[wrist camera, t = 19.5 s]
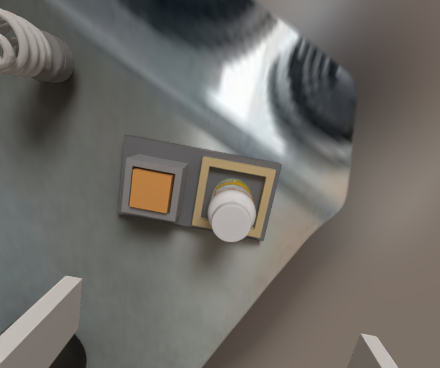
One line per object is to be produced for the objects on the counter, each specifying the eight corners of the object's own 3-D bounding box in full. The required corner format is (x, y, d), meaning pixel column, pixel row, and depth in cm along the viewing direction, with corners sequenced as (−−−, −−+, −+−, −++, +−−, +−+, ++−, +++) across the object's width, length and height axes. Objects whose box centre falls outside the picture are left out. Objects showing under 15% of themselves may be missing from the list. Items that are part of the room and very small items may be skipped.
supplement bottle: (237, 222, 36) (239, 258, 26) (204, 202, 35) (194, 231, 26) (259, 191, 35) (269, 216, 25) (225, 170, 34) (222, 188, 25)
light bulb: (96, 60, 33) (23, 26, 22) (75, 97, 35) (-5, 83, 23) (59, 32, 33) (-38, -19, 21) (39, 70, 34) (-63, 42, 22)
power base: (121, 209, 38) (103, 224, 33) (128, 134, 35) (110, 137, 30) (262, 236, 38) (267, 254, 32) (279, 163, 35) (288, 170, 30)
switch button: (139, 198, 35) (129, 206, 31) (143, 164, 34) (133, 169, 30) (173, 204, 35) (166, 213, 31) (177, 171, 34) (171, 176, 30)
